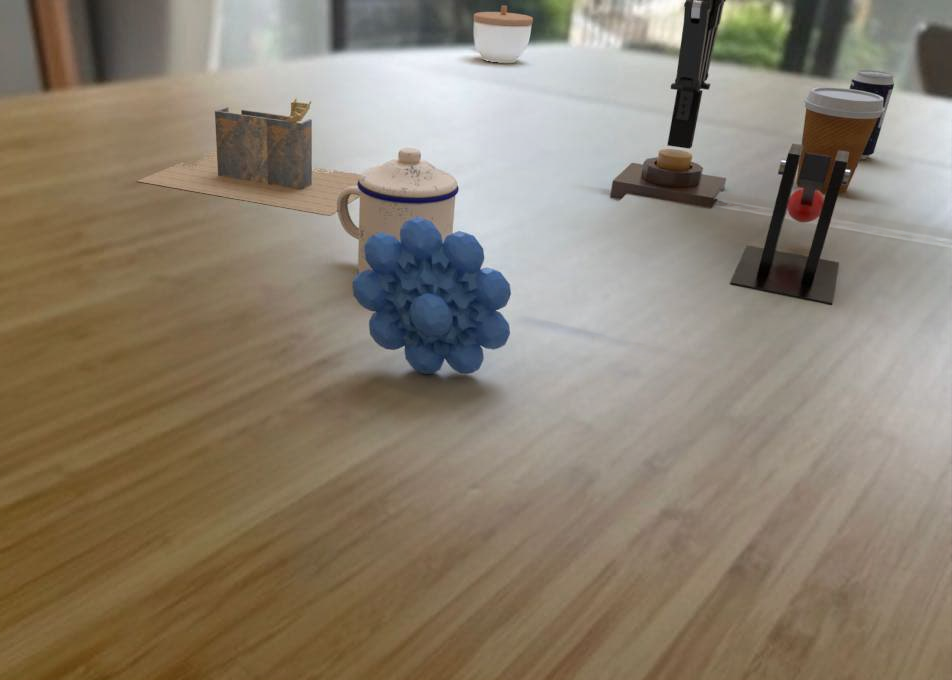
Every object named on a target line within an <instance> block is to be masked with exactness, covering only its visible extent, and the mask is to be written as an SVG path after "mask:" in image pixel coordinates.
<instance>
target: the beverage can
mask: <svg viewBox="0 0 952 680" xmlns="http://www.w3.org/2000/svg"><path fill="white" fill-rule="evenodd" d="M894 76H895V75H894V74H893V73H890V72H887V71H880V70H873V69H858V70H857V71H856V74H855V76H854V77H852V79H851V81H850V85H849V88H848V89H853V90H859V91H865V92H869V93H873V94H877V95H879V96H881V97H883V98H884V100H883V108H884V109H885V110H884V112H883V113H881V116H880V117H878V119H877V121H876V124H875V126H874V129H873V131H872V133H871V135H870V138H869V140H868V142H867V145H866V147H865V149H864V151H863V154H862V156H861V158H860V160H867V158H868V157H871V155H873V154H874V153H875V149H876V147H877V143H878V140H879V137H880V133H881V130H882V127H883V123H884V120H885V117H886V114H887V110H888V107H889V104H890V100H891V98H892V94H893V90H894V86H895V83H894Z"/></svg>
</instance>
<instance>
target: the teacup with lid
mask: <svg viewBox="0 0 952 680" xmlns="http://www.w3.org/2000/svg"><path fill="white" fill-rule="evenodd" d="M397 155H398V156H397V158H394V159H391V160H388V161H387V162H384V163H383V164H381V165H378V166H373V167H370V168H368V169H365V170H363V172H361V174H360V175H361V176H360V177H359V180H358V183H357V185H358V186H351V187H348V188H346V189H344V190H343V191H342V192H341V193H340V194H339V196H338V200H337V211H336V212H337V216H338V220H339V222H340V224H341V227H342V228H343V229H344V231H345V232H346V233H347V234H348V235H349V236H351V237H352V238H354V239H356V240H358V248H357V249H358V250H357V251H358V253H357V255H358V256H357V269H358V273H360V272H363V271H365V270H368V269H370V270H373V269H372V268H371V267H370V265H369V264H368V263H367V261H366V260H365V252H364V247H365V244H366V242H367V240H368V238H369V237H371V236H374V235H376V234H378V233H380V232H382V233H386V234H389V235H392V236H394V237H396V238H397V240H398V241H399V242H400V243H401V241H400V230H401V228H402V226H403V224H404V222H406V221H408V220H411V219H413V218H415V217H420V218H423V219H426V220H429V221H431V222H432V223H433V224H434V225H435V227H436V228H437V229H438V231H439V232H440V233H441V235H442V243H443V242H444V240H445V238H446V236H448V235H451V234H453V233H454V222H455V221H454V220H455V207H456V195H458V193H459V190H460V189H459V185H458V182H457V179H456V178H455V177H454V176H453V175H452V174H451V173H450V172H448V171H446V170H442V169H439V168H436V166H434V165H433V164H431V163H430V162H428V161H426V160H424V159H422V153H421V151H420V149H418V148H414V147H403V148H401V149H400V150H399V151H398V154H397ZM351 194H353V195H358V196H359V207H358V209H359V211H358V214H359V215H358V227H357V225H356V224H355V223H354V222H353V220H352V218H351V215H350V212H349V208H348V207H349V203H348V198H349V196H350V195H351Z"/></svg>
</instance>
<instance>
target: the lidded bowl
mask: <svg viewBox="0 0 952 680" xmlns="http://www.w3.org/2000/svg"><path fill="white" fill-rule="evenodd" d="M533 21H534V18H533V16H530V15H528V14H527V15H526V14H521V13H516V12H515V13H513V12H508V5H501V7H500V11H480V12H475V13H474V14H473V30H472V32H473V34H472V35H473V42H474V46H475V48H476V51H477V52H478V53H479V55H480V56H481V58H482V60H483V59H485V60H488V61H493V62H498V63H497V64H514V63H516V62H517V60H518V59H519V58H521V56H523V54H524V53H525V51H526V49H527V47H528V45H529V42H530V39H531V33H532V25H533V23H534V22H533Z"/></svg>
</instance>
